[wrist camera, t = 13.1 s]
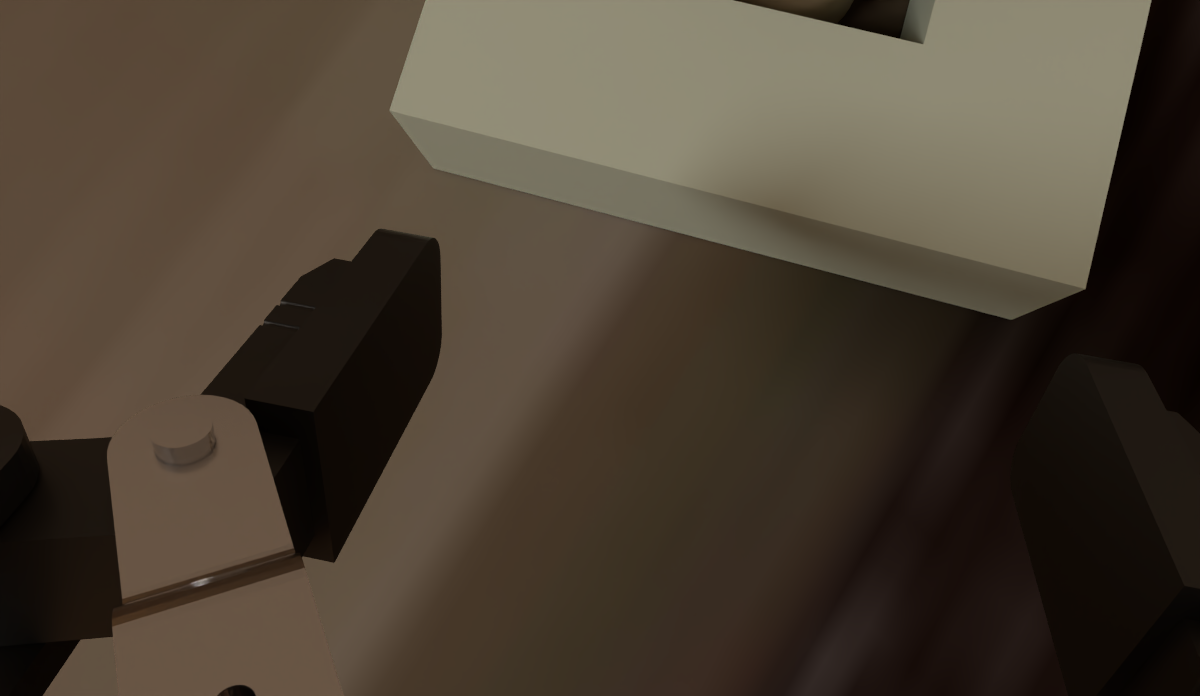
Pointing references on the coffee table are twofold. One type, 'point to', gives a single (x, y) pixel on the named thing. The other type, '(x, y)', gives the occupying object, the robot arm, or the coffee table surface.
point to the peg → (808, 8)
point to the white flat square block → (800, 129)
